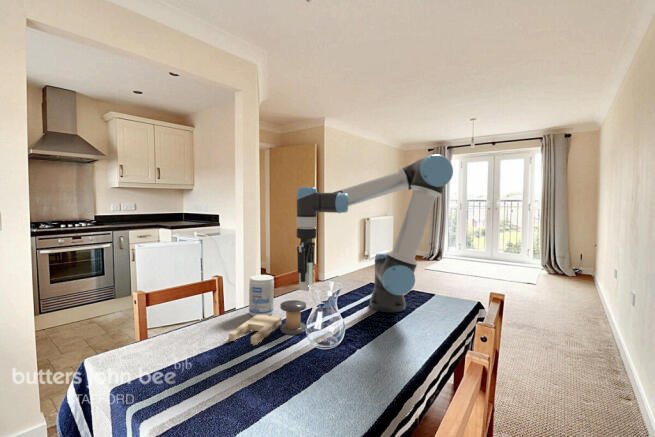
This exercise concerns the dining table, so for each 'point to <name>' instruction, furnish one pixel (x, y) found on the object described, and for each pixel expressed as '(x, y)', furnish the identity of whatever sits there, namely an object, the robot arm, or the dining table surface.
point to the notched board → (257, 327)
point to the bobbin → (293, 317)
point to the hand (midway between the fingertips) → (305, 288)
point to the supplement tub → (261, 295)
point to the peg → (310, 275)
